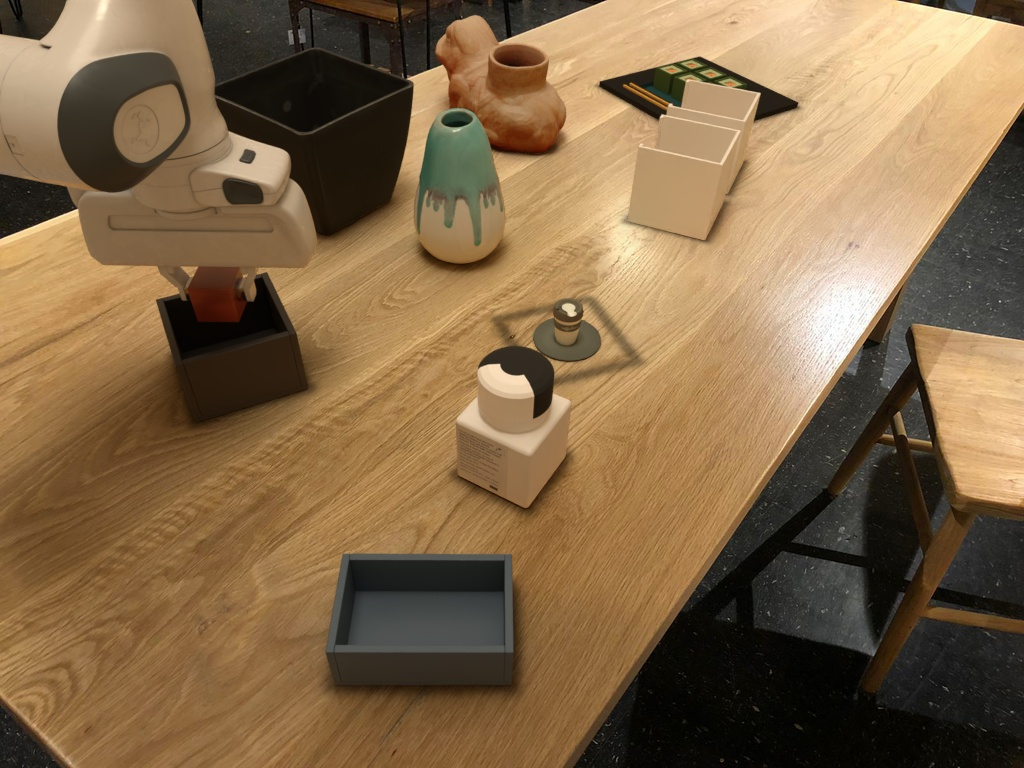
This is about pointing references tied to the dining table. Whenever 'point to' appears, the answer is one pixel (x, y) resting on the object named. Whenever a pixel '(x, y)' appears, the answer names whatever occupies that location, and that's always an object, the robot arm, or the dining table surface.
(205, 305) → the block
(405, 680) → the box
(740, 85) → the sushi
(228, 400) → the basket
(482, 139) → the vase
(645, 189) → the storage container
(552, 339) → the coffee cup
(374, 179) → the flower pot
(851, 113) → the dining table surface
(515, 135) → the ceramic vessel
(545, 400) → the container
